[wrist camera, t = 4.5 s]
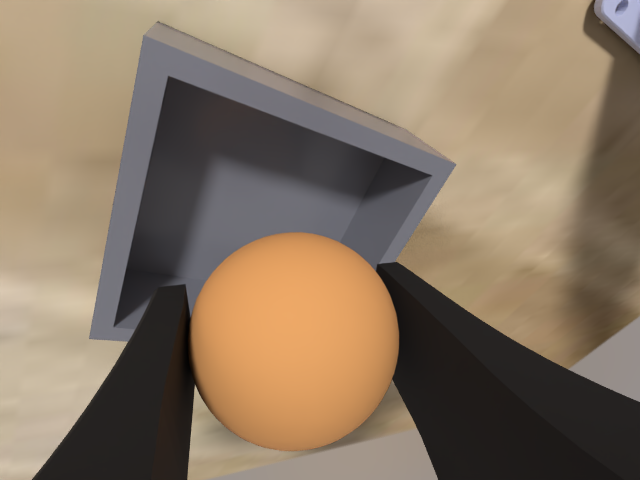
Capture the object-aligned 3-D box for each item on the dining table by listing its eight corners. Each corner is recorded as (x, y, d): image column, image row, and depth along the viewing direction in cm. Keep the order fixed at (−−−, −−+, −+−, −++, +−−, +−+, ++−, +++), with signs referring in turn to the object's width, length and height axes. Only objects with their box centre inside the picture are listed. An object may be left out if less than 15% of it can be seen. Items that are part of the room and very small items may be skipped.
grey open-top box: (406, 129, 14) (456, 164, 12) (314, 299, 18) (335, 354, 16) (157, 21, 10) (143, 35, 7) (109, 270, 14) (89, 338, 11)
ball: (367, 192, 10) (476, 322, 6) (343, 317, 13) (409, 462, 9) (178, 200, 9) (164, 376, 5) (197, 338, 11) (199, 522, 8)
